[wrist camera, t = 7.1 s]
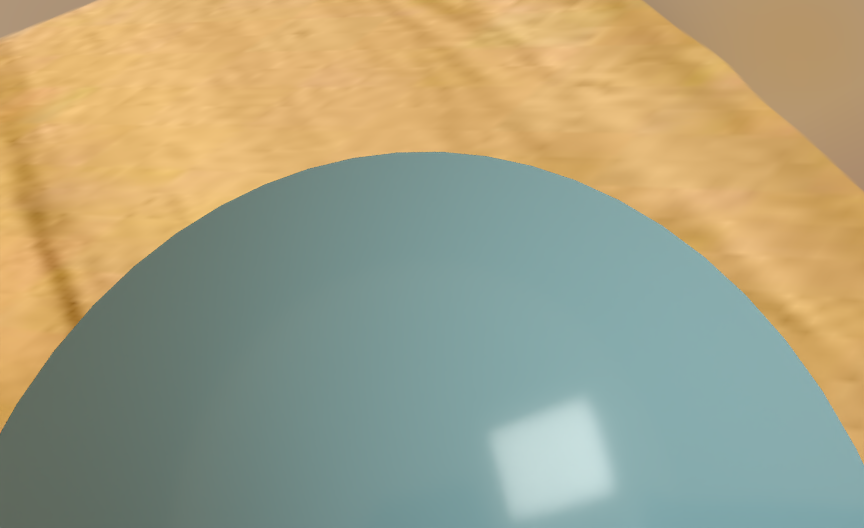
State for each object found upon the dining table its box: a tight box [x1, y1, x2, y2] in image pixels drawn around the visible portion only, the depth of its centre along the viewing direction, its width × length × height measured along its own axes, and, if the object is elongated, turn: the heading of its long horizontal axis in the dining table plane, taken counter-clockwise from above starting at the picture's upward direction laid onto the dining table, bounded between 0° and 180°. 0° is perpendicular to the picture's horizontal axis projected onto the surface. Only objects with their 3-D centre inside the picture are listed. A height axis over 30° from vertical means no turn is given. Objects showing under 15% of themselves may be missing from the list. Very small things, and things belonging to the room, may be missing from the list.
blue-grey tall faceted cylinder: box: [0, 152, 864, 528], centre depth 9 cm, size 7×7×13 cm
